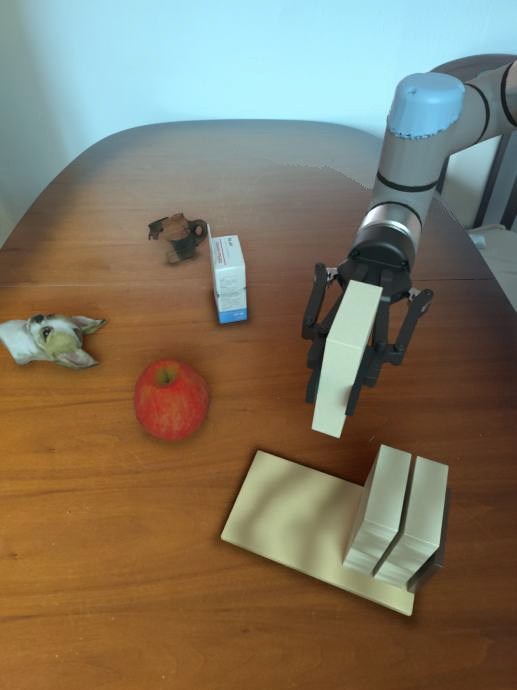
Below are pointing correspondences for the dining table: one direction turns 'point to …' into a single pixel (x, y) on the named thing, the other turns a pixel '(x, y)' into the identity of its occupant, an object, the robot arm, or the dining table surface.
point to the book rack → (348, 523)
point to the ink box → (228, 277)
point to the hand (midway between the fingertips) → (330, 400)
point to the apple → (171, 400)
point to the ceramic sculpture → (50, 339)
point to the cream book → (344, 355)
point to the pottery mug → (179, 235)
